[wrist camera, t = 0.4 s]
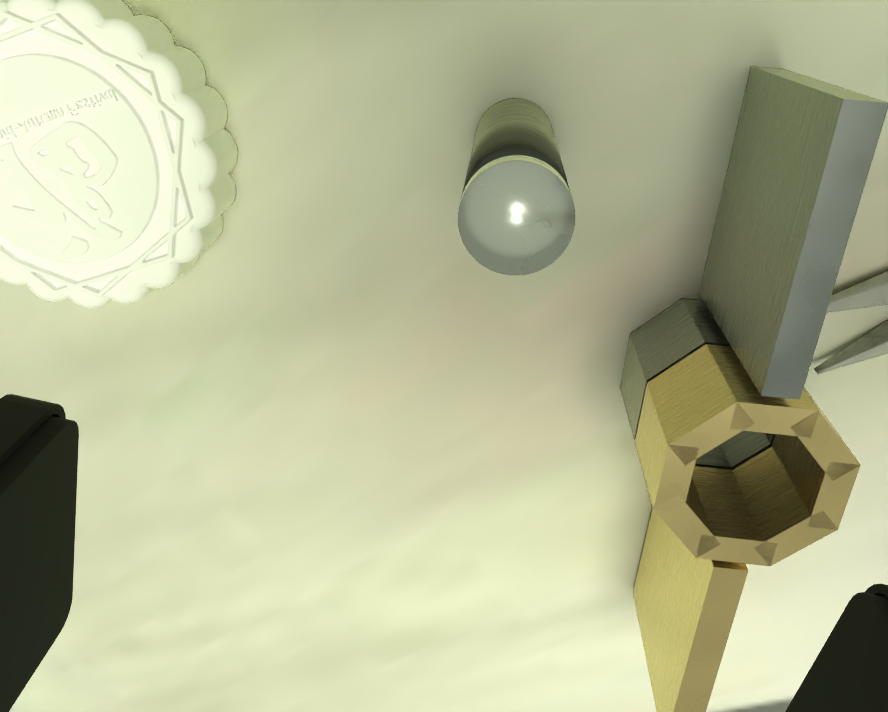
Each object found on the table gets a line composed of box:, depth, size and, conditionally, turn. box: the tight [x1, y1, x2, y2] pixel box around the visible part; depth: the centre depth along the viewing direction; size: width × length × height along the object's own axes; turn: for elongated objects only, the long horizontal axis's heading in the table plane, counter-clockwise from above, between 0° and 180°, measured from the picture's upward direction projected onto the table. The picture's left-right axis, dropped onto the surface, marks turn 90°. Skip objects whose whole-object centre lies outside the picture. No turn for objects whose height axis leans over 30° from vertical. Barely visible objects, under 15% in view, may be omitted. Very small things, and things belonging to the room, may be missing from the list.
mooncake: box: [0, 0, 238, 308], centre depth 32 cm, size 12×12×4 cm
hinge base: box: [620, 66, 888, 470], centre depth 29 cm, size 6×16×9 cm, turn 175°
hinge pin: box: [458, 98, 575, 275], centre depth 26 cm, size 3×3×12 cm
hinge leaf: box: [633, 344, 860, 712], centre depth 33 cm, size 6×16×9 cm, turn 175°
